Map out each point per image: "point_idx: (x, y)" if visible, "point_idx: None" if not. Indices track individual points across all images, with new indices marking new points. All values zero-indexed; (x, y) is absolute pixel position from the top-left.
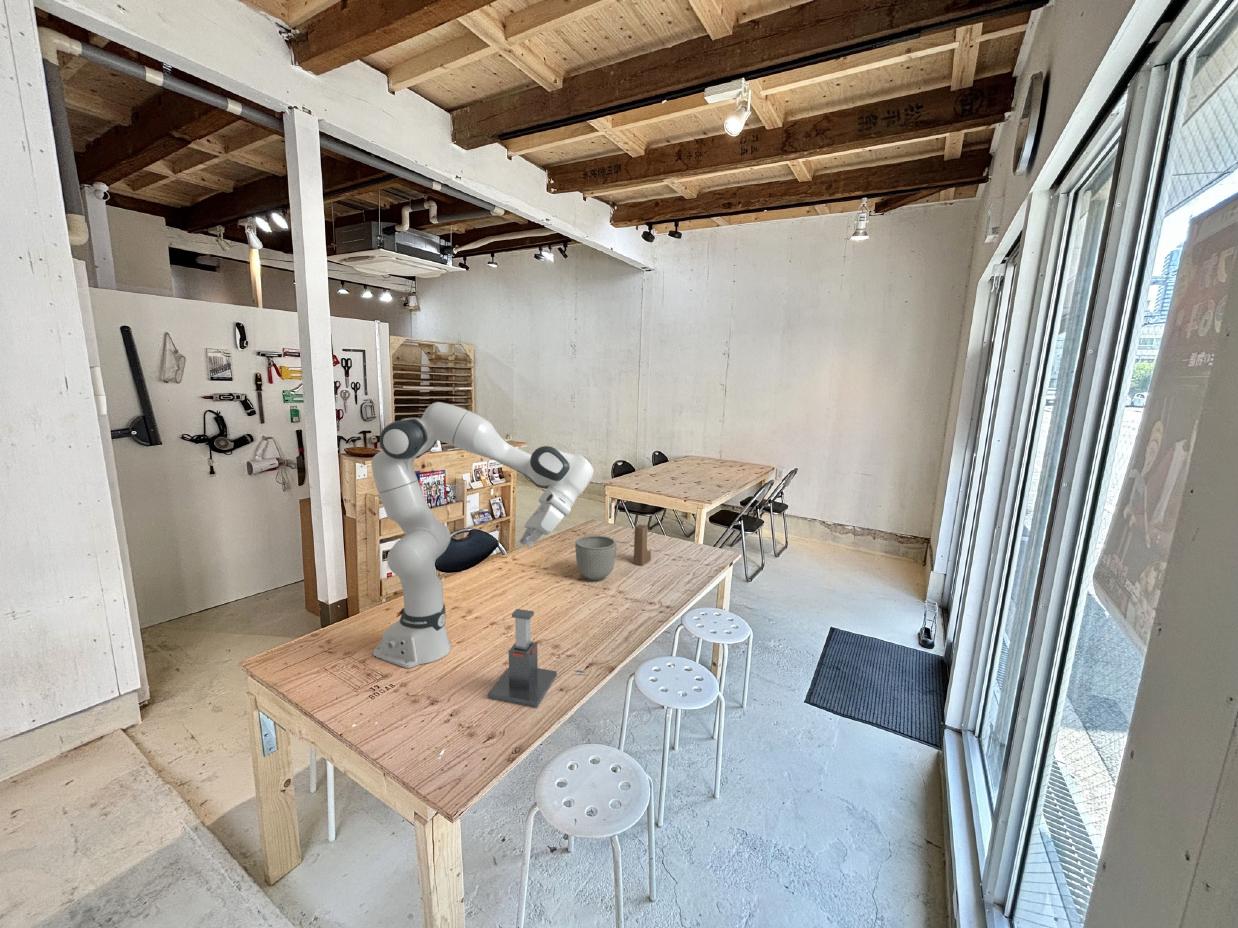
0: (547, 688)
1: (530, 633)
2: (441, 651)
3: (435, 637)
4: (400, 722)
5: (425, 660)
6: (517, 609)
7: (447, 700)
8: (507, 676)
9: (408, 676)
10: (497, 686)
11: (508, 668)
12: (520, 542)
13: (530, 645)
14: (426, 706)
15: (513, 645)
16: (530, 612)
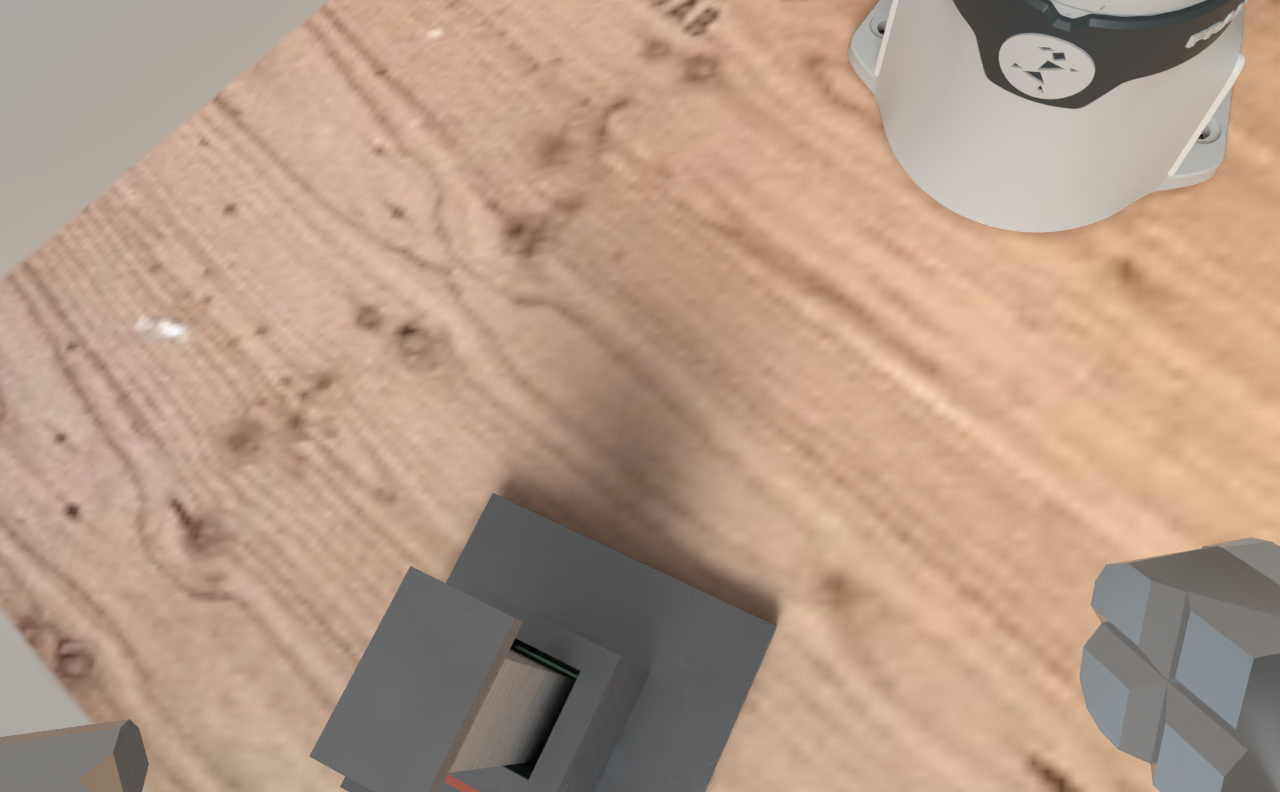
0: None
1: (499, 765)
2: (954, 181)
3: (964, 95)
4: (410, 124)
5: (888, 118)
6: (498, 626)
7: (525, 295)
8: (632, 601)
9: (771, 74)
10: (543, 544)
11: (722, 606)
12: (1104, 576)
13: (523, 761)
14: (499, 207)
15: (538, 619)
16: (396, 774)
